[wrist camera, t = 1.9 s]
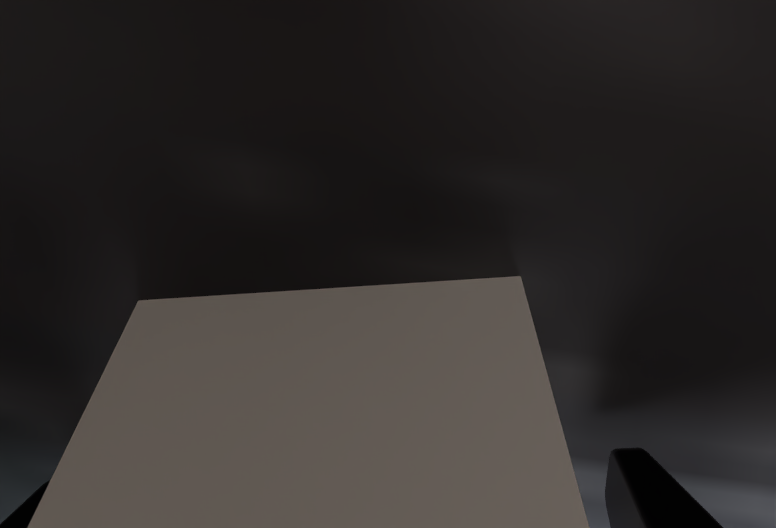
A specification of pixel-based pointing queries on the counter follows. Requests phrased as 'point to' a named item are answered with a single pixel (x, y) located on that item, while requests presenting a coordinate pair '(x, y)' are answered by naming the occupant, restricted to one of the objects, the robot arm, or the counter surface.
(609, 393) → the counter surface
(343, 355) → the limestone block
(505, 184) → the counter surface
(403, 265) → the counter surface
